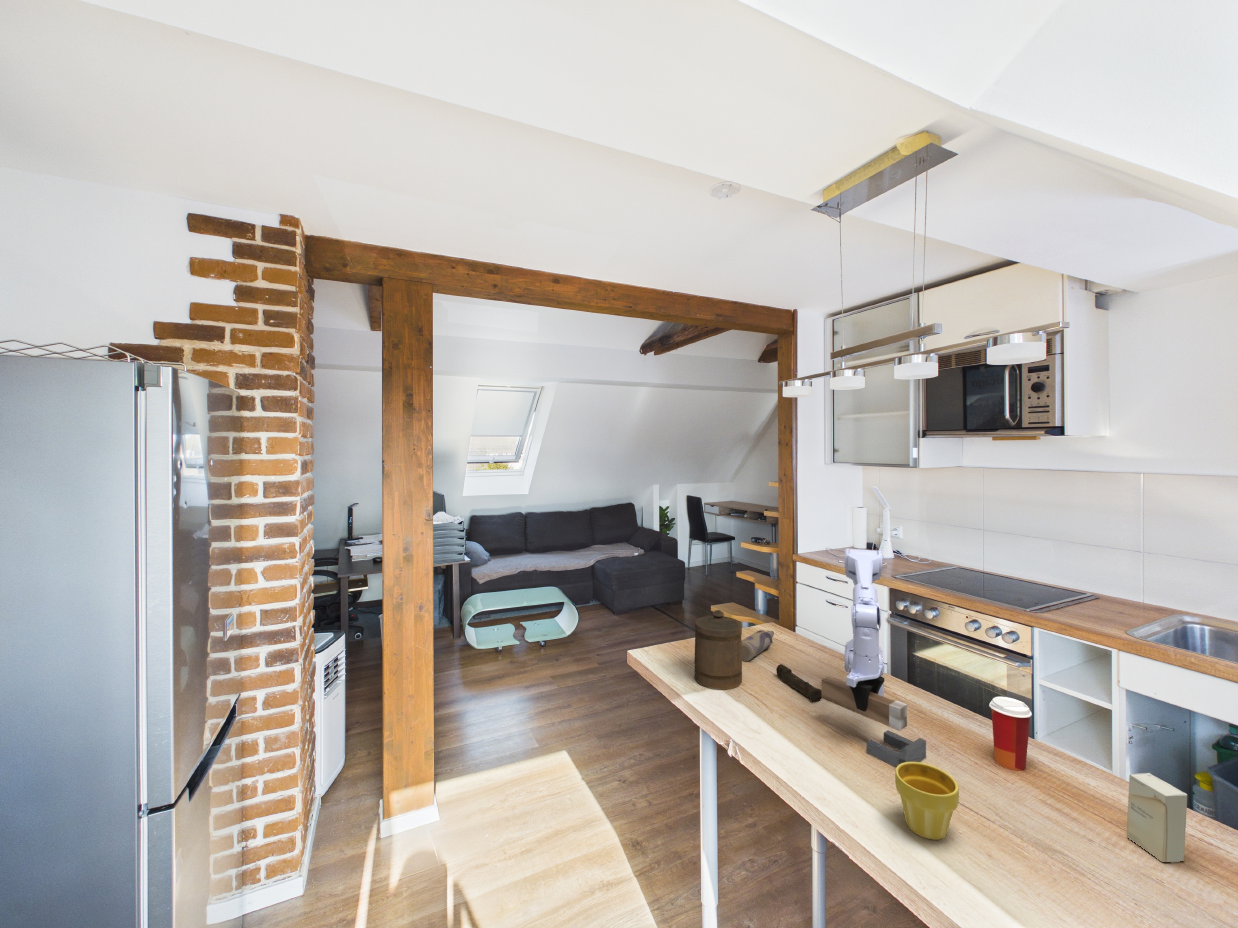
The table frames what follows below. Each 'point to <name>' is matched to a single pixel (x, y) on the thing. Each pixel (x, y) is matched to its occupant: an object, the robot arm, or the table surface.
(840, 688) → the walnut rail
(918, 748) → the u-shaped metal bracket
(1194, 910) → the table surface
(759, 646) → the decorative bottle
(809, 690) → the hand tool
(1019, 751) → the paper cup
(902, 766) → the plant pot
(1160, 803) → the skincare box
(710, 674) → the wooden container
